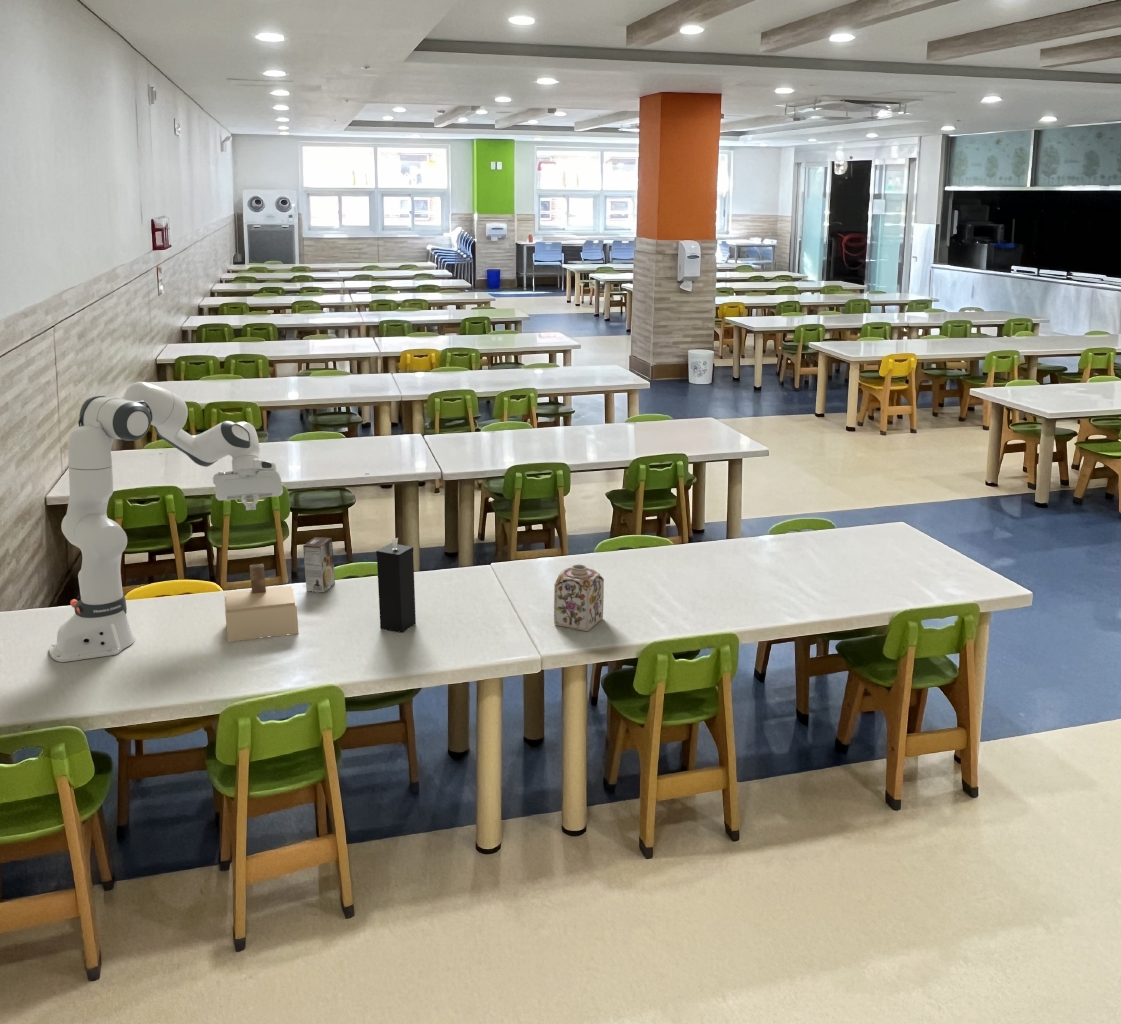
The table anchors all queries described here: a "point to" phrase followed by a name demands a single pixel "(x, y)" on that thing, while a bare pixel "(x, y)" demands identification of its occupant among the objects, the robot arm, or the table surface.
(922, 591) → the table surface
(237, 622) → the carton
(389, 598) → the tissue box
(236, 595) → the lid flap
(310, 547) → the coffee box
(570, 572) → the decorative jar
